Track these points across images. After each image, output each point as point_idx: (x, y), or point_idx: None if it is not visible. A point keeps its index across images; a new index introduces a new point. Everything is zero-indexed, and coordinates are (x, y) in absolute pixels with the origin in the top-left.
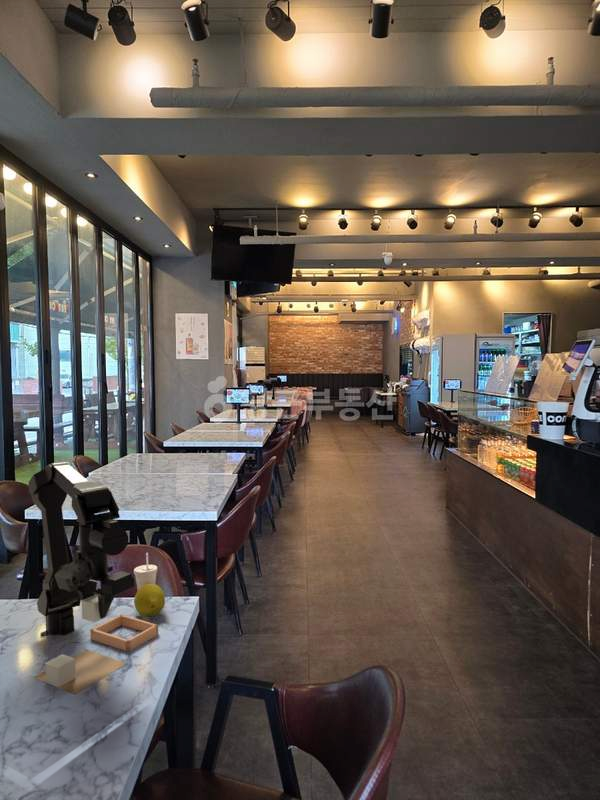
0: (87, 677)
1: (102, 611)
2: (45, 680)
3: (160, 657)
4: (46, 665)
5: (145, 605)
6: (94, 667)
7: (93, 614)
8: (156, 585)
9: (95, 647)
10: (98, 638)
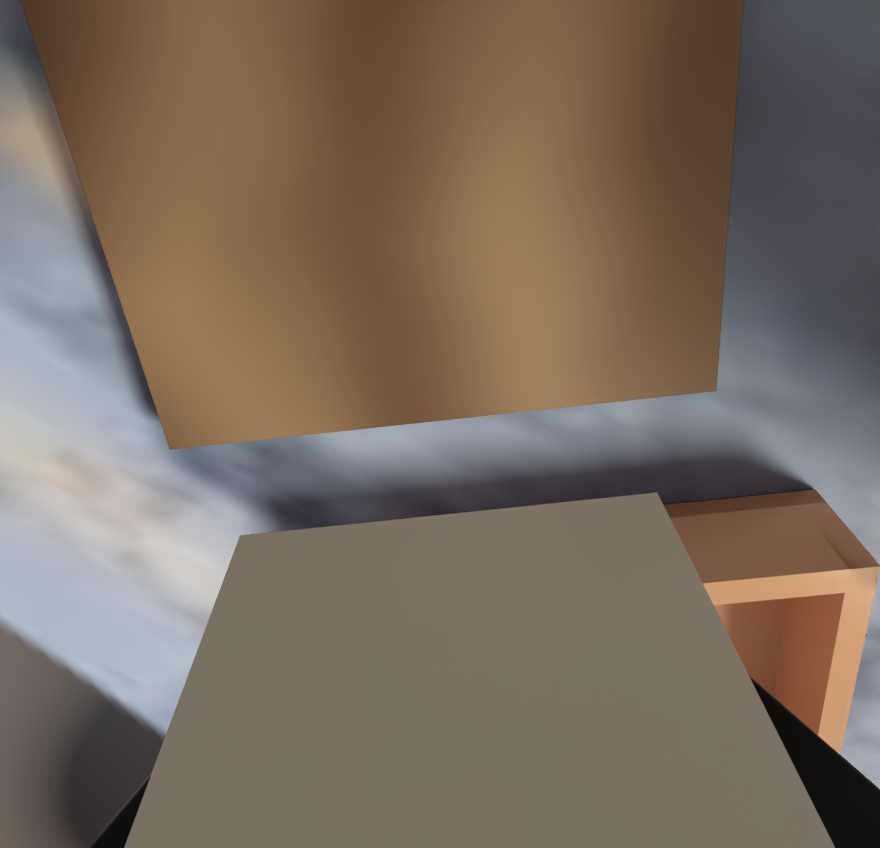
0: (204, 78)
1: (117, 831)
2: None
3: (143, 638)
4: None
5: None
6: (340, 243)
7: (227, 662)
8: None
9: (716, 471)
10: (735, 538)
